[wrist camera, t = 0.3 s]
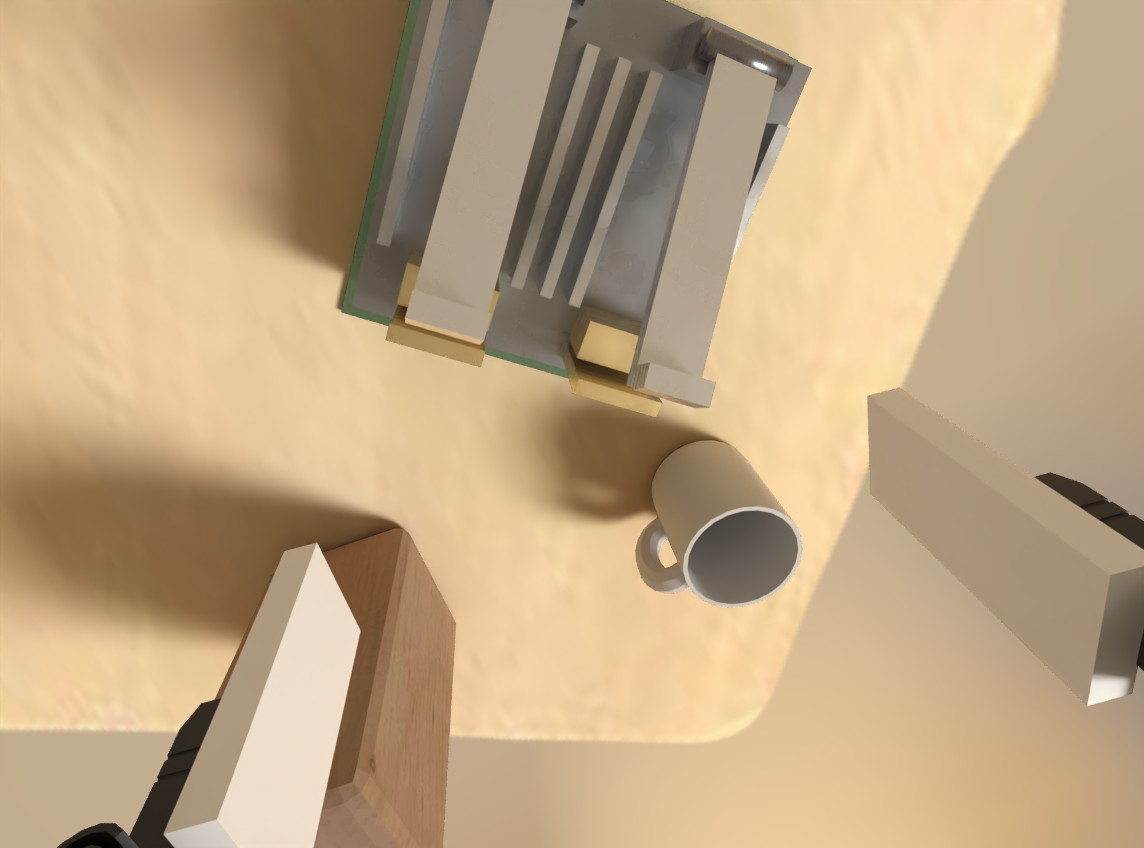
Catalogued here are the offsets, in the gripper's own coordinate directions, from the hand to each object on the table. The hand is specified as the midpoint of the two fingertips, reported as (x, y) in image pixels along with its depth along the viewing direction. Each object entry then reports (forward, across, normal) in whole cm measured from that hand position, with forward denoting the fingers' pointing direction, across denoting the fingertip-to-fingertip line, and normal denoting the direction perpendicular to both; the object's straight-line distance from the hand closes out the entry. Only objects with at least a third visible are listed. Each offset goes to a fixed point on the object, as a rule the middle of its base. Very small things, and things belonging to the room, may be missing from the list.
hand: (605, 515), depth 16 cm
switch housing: (+27, +3, +4) cm, 27 cm away
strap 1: (+15, 0, +8) cm, 17 cm away
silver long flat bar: (+15, +7, +3) cm, 17 cm away
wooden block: (+27, -17, -20) cm, 37 cm away
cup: (+27, +7, -18) cm, 33 cm away
